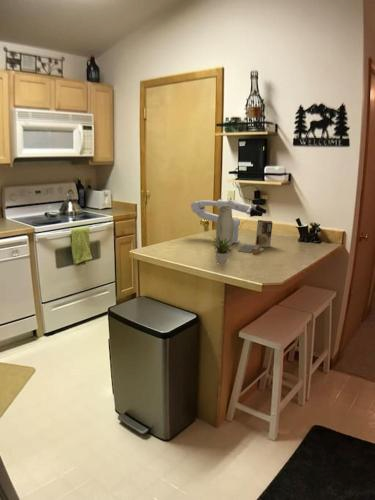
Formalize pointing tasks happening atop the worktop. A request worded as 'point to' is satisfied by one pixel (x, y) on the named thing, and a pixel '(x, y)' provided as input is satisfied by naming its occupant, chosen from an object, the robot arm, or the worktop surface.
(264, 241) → the coffee box
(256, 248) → the spatula
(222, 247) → the house plant
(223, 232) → the grey rounded cylinder
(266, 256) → the worktop surface
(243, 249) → the mat
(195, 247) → the worktop surface
